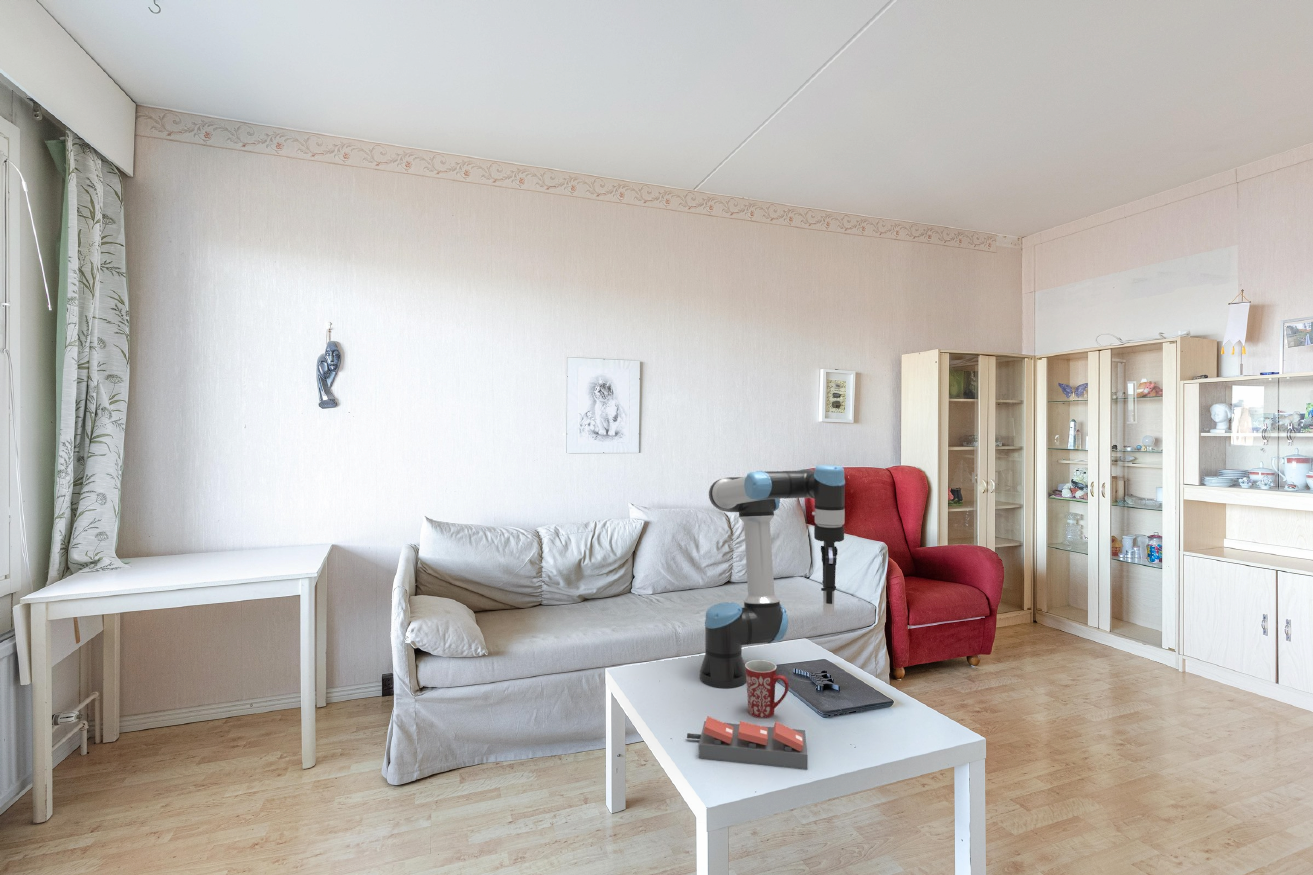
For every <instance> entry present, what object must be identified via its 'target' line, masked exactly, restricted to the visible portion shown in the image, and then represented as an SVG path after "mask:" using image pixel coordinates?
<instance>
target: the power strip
mask: <svg viewBox="0 0 1313 875" xmlns="http://www.w3.org/2000/svg"><path fill="white" fill-rule="evenodd" d="M705 722H706V720H704V721H703V726H702V730H701V733H700V734H698V733H688V732H687V734H686V739H692V740H699V742H698V758H699V759H701V760H702V759H703V760H713V761H723V762H724V761H725V762H733V763H741V764H753V765H763V766H771V767H773V766H774V767H780V768H781V767H783V768H790V769H791V768H792V769H800V770H801V769H803V770H808V745H807V735H806V730H805V729H795V728H792V729H793V730H795V731H797V732H799V733H801V734H802V737H803V748H802V750H801V752H800V751H798V750H796V749H794V748H792V747H790V746H788V745H786V744H784V743H782V742H780V741H778V740H776V739H774V738H773V727H774V726H765V725H762V726H763V727H767V728H768V738H767V745H763V744H759V743H755V742H751V741H747V740H743V739H739V738H738V731H739V724H740V723H732V722H724V723H725V724H728V725H730V726H733V727H734V728H733V736H732V740H731V743H730V744H729V743H727V742H724V741H722V740H719V739H717V738H715V737H712V736H710V735H707V734H705V733H703V731H704V726H705Z"/></svg>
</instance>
